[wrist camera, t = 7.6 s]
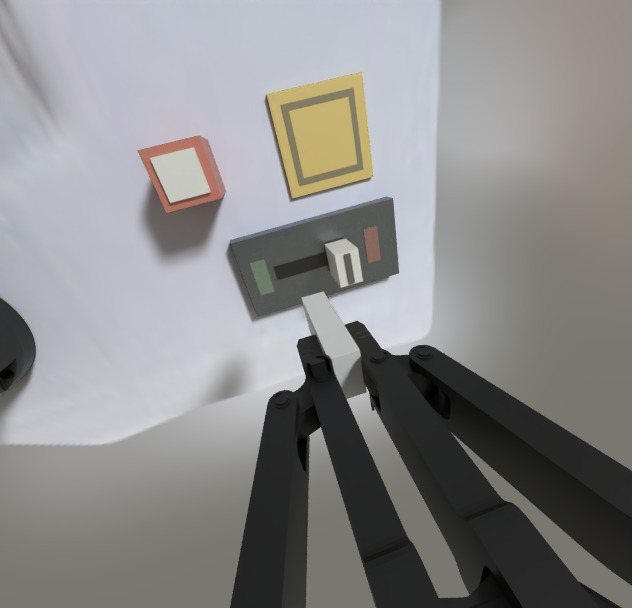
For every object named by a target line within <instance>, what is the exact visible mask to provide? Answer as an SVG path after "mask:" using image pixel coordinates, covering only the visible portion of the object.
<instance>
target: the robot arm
mask: <svg viewBox="0 0 632 608" xmlns="http://www.w3.org/2000/svg"><path fill="white" fill-rule="evenodd" d="M302 302H303V306H304V310H305V314H306V318H307V321H308V325H309V329H310V333H311V335H312V336H309V337H305V338H302V339H299V340H298V344H297V348H298V352H299V355H300V358H301V362H302V365H303V368H304V372H305V375H306V379H305V382H304V384H303V385H302V386H301V387H300V388H299V389H298V390H296V391H295V392H292V391H289V390H284V391H279V392H277V393H276V394H274V395H273V396H272V397H271V398H270V399H269V402H268V405H267V411H266V415H265V421H264V426H263V432H262V437H261V443H260V448H259V453H258V459H257V464H256V470H255V475H254V481H253V486H252V492H251V497H250V503H249V508H248V514H247V519H246V524H245V530H244V535H243V541H242V546H241V552H240V557H239V562H238V568H237V573H236V578H235V584H234V589H233V594H232V600H231V606H230V608H306V572H307V526H308V483H309V439H310V438H309V435H310V434H312V433H313V432H314V431H316V430H317V429H319V428H320V427H321V428H322V432H323V435H324V438H325V442H326V445H327V448H328V451H329V455H330V458H331V461H332V464H333V468H334V471H335V474H336V478H337V481H338V484H339V488H340V491H341V494H342V498H343V501H344V504H345V507H346V511H347V514H348V517H349V521H350V524H351V527H352V530H353V534H354V537H355V540H356V543H357V547H358V550H359V554H360V557H361V560H362V563H363V567H364V570H365V573H366V577H367V580H368V583H369V587H370V590H371V593H372V596H373V600H374V603H375V607H376V608H621V607H620V606H618V605H616V604H615V603H613V602H612V601H610V600H608V599H607V598H605V597H603V596H602V595H600V594H598V593H597V592H595V591H594V590H592V589H590V588H589V587H587V586H585V585H584V584H582V583H580V582H578V581H577V579H576V578H575V577H574V576H573V574H572V573H571V572H570V571H569V569H568V568H567V567H566V566H565V564H564V563H563V562H562V561H561V559H560V558H559V557H558V556H557V554H556V553H555V552H554V551H553V549H552V548H551V547H550V545H549V544H548V543H547V542H546V541H545V539H544V538H543V537H542V535H541V534H540V533H539V532H538V530H537V529H536V528H535V527H534V525H533V524H532V523H531V522H530V520H529V519H528V518H527V517H526V515H525V514H524V513H523V512H522V511H521V510H520V509H519V508H518V507H517V506H516V505H514V504H513V503H511V502H507V501H504V500H503V499H502V498H501V497H500V496H499V495H498V494H497V492H496V491H495V490H494V488H493V487H492V486H491V485H490V483H489V482H488V481H487V479H486V478H485V477H484V475H483V474H482V473H481V471H480V470H479V469H478V467H477V466H476V465H475V464H474V462H473V461H472V460H471V458H470V457H469V456H468V455H467V453H466V452H465V450H464V449H463V448H462V446H461V445H460V444H459V442H458V441H457V440H456V439H455V437H454V436H453V435H452V433H453V434H454V435H455V436H456V437H457V438H458V439H460V440H461V441H462V442H463V443H464V444H465V445H467V446H468V447H469V448H470V449H471V450H472V451H473V452H474V453H476V454H477V455H478V456H479V457H480V458H481V459H483V461H485V462H486V463H487V464H488V465H489V466H490V467H491V468H493V469H494V470H495V471H496V472H497V473H498V474H499V475H501V476H502V477H503V478H504V479H505V480H506V481H507V482H509V483H510V484H511V485H512V486H513V487H514V488H515V489H517V490H518V491H519V492H520V493H521V494H522V495H523V496H525V497H526V498H527V499H528V500H529V501H530V502H531V503H533V504H534V505H535V506H536V507H537V508H538V509H539V510H541V511H542V512H543V513H544V514H545V515H546V516H548V518H550V519H551V520H552V521H553V522H554V523H555V524H557V525H558V526H559V527H560V528H561V529H562V530H563V531H564V532H566V533H567V534H568V535H569V536H570V537H571V538H572V539H574V540H575V541H576V542H577V543H578V544H579V545H580V546H582V547H583V548H584V549H585V550H586V551H587V552H589V553H590V554H591V555H592V556H594V557H595V558H596V559H597V560H598V561H600V562H601V563H602V564H603V565H604V566H606V567H607V568H608V569H610V570H611V571H612V572H614V573H615V574H617V575H618V576H619V577H621V578H622V579H623V580H625V581H626V582H627V583H629V584H630V585H632V471H631V470H630V469H628V468H626V467H625V466H623V465H621V464H620V463H618V462H617V461H615V460H613V459H612V458H610V457H609V456H607V455H605V454H604V453H602V452H601V451H599V450H597V449H596V448H594V447H593V446H591V445H589V444H588V443H586V442H585V441H583V440H581V439H580V438H578V437H577V436H575V435H573V434H572V433H570V432H569V431H567V430H565V429H564V428H562V427H561V426H559V425H557V424H556V423H554V422H552V421H551V420H549V419H548V418H546V417H544V416H543V415H541V414H540V413H538V412H537V411H535V410H533V409H532V408H530V407H528V406H527V405H525V404H524V403H522V402H521V401H519V400H517V399H516V398H514V397H512V396H511V395H509V394H508V393H506V392H504V391H503V390H501V389H500V388H498V387H496V386H495V385H493V384H492V383H490V382H488V381H487V380H485V379H484V378H482V377H480V376H479V375H477V374H476V373H474V372H472V371H471V370H469V369H468V368H466V367H464V366H463V365H461V364H460V363H458V362H456V361H455V360H453V359H452V358H450V357H448V356H447V355H445V354H444V353H442V352H440V351H439V350H437V349H436V348H434V347H431V346H428V345H418V346H416V347H413V348H412V349H411V350H410V352H409V355H391V353H389V352H388V351H386V350H384V349H382V348H381V347H380V346H379V344H378V343H377V342H376V340H375V339H374V338H373V336H372V335H371V334H370V332H369V331H368V330H367V328H366V327H365V325H364V324H362V323H360V322H358V321H355V322H352V323H349V324H346V325H344V324H343V322H342V320H341V319H340V317H339V316H338V314H337V312H336V311H335V309H334V308H333V306H332V304H331V303H330V301H329V300H328V298H327V296H326V295H325V293H324V291H323V292H320V293H316V294H313V295H309V296H306V297H302ZM34 356H35V345H34V340H33V337H32V334H31V332H30V330H29V328H28V326H27V324H26V323H25V321H24V320H23V319H22V318H21V316H20V315H19V314H18V313H17V312H16V311H15V310H14V309H13V308H12V307H11V306H10V305H9V304H8V303H6V302H5V301H4V300H3V299H1V298H0V397H1V396H2V395H3V394H5V393H6V392H8V391H9V390H10V389H11V388H12V387H13V386H14V385H15V384H16V383H17V382H18V381H19V380H20V379H21V378H22V377H23V376H24V375H25V374H26V373H27V372H28V371H29V369H30V368H31V366H32V363H33V360H34ZM366 387H367V389H368V391H369V394H370V401H371V407H372V410H373V411H374V407H375V409H376V411H377V413H378V414H379V417H380V418H381V420H382V422H383V424H384V426H385V428H386V429H387V432H388V433H389V435H390V437H391V439H392V441H393V443H394V445H395V447H396V448H397V450H398V452H399V454H400V455H401V458H402V460H403V462H404V463H405V465H406V467H407V469H408V471H409V473H410V475H411V477H412V478H413V480H414V482H415V484H416V486H417V488H418V490H419V491H420V493H421V495H422V497H423V499H424V501H425V503H426V505H427V507H428V508H429V510H430V512H431V514H432V516H433V518H434V520H435V521H436V523H437V525H438V527H439V529H440V531H441V533H442V535H443V536H444V538H445V540H446V542H447V544H448V546H449V548H450V549H451V551H452V554H453V556H454V558H455V560H456V562H457V565H458V569H459V572H460V574H461V577H462V579H463V582H464V584H465V586H466V588H467V590H468V592H469V594H470V595H469V596H468V597H463V598H438V596H437V593H436V591H435V589H434V587H433V585H432V582H431V580H430V578H429V576H428V573H427V571H426V569H425V567H424V565H423V562H422V560H421V558H420V556H419V554H418V552H417V550H416V548H415V546H414V545H413V543H412V542H411V541H410V540H409V538H408V537H407V535H406V532H405V530H404V528H403V526H402V524H401V521H400V519H399V517H398V514H397V512H396V510H395V508H394V505H393V503H392V501H391V499H390V496H389V494H388V492H387V490H386V487H385V485H384V483H383V481H382V479H381V476H380V474H379V472H378V469H377V467H376V465H375V463H374V461H373V458H372V456H371V454H370V452H369V449H368V447H367V445H366V443H365V440H364V438H363V436H362V433H361V431H360V429H359V427H358V425H357V422H356V420H355V418H354V415H353V413H352V411H351V408H350V406H349V404H348V402H347V399H348V398H351V397H354V396H357V395H360V394H363V393H365V392H366ZM451 432H452V433H451Z"/></svg>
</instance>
